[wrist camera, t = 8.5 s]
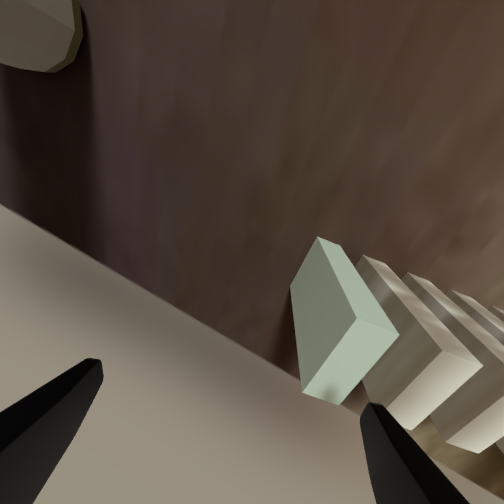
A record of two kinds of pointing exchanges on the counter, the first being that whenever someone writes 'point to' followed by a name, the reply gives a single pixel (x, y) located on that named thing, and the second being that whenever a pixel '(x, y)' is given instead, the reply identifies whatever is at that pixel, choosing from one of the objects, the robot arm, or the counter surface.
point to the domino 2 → (412, 352)
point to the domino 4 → (484, 319)
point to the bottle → (39, 33)
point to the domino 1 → (335, 324)
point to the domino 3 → (477, 386)
